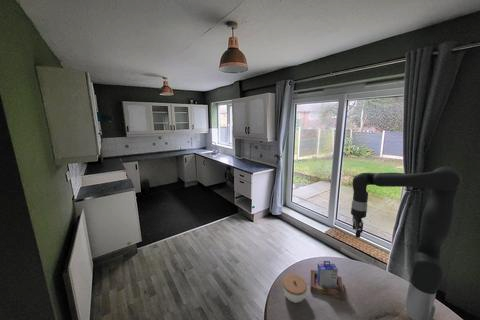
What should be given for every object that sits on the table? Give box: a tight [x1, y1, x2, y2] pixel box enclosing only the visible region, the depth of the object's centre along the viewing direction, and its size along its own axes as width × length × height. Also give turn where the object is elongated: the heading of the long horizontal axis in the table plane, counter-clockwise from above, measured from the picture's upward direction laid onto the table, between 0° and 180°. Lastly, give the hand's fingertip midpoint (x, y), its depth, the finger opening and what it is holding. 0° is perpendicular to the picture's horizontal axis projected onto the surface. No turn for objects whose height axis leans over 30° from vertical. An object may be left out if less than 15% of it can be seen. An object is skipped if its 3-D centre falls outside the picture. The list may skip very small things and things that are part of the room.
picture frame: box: [309, 269, 345, 302], centre depth 111 cm, size 17×13×4 cm
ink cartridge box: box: [316, 260, 339, 288], centre depth 110 cm, size 10×6×14 cm, turn 87°
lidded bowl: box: [282, 273, 308, 304], centre depth 104 cm, size 13×13×11 cm
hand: (356, 233), depth 112 cm, fingers open, 8 cm apart
